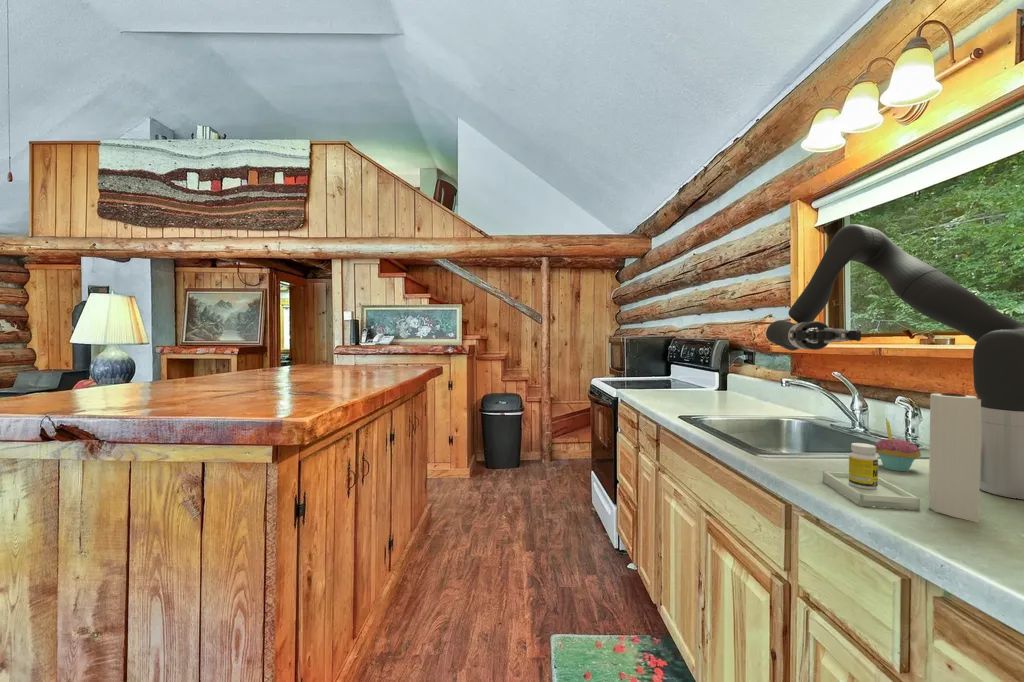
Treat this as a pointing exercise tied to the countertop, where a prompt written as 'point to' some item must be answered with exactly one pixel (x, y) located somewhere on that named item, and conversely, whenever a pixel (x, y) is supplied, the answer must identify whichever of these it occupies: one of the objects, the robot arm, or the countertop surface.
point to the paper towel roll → (955, 455)
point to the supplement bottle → (863, 466)
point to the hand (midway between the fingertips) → (838, 335)
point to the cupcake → (896, 452)
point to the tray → (872, 493)
